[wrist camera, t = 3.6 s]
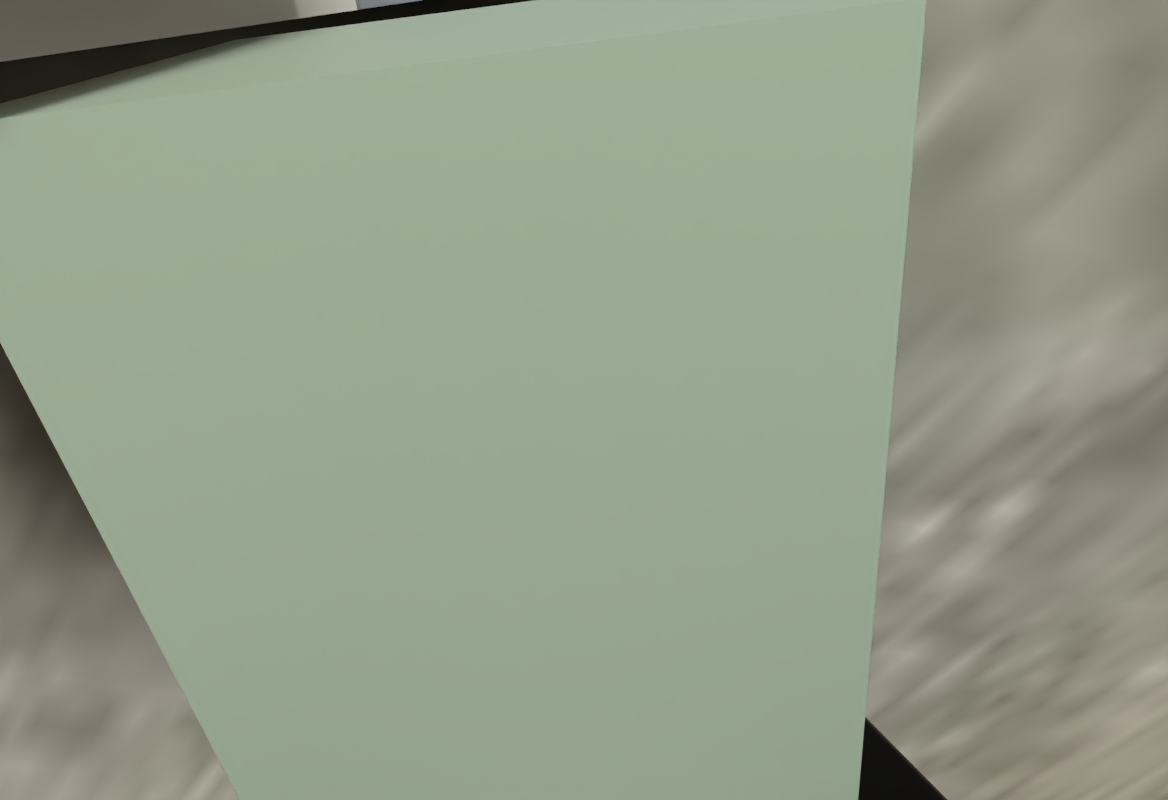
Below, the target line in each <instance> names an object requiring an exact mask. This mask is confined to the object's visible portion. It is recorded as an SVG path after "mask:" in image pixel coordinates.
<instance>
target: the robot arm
mask: <svg viewBox="0 0 1168 800" xmlns="http://www.w3.org/2000/svg"><path fill="white" fill-rule="evenodd" d="M858 800H947V799H946V798H945V797H944V796H943V795H942V794H941V793H940V792H939V791H938V790H937V789H936V788H935V787H934V786H933V785H932V784H931V783H930V782H929V781H928V780H927V779H926V778H925V777H924V776H923V775H922V774H921V773H920V772H919V771H918V770H917V769H916V768H915V767H914V766H913V765H912V764H911V763H910V762H909V761H908V760H907V759H906V758H905V757H904V756H903V755H902V754H901V753H900V752H899V751H898V750H897V749H896V748H895V747H894V746H893V745H892V744H891V742H890V741H889V740H888V739H887V738H886V737H885V736H884V735H883V734H882V733H881V732H880V731H879V730H878V729H877V728H876V727H875V726H874V725H873V724H872V723H871V722H870V721H869V720H868V719H867V718H866V717H865V725H864V737H863V749H862V760H861V772H860V784H859V795H858Z"/></svg>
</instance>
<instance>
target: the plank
mask: <svg viewBox="0 0 1168 800" xmlns="http://www.w3.org/2000/svg"><path fill="white" fill-rule="evenodd" d="M926 1H927V0H533V1H526V2H518V3H511V4H503V5H495V6H488V7H480V8H473V9H465V10H457V11H450V12H442V13H435V14H427V15H420V16H412V17H404V18H397V19H389V20H382V21H374V22H366V23H359V24H351V25H344V26H336V27H329V28H321V29H313V30H306V31H298V32H291V33H283V34H275V35H268V36H260V37H253V38H245V39H237V40H233V41H229V42H225V43H222V44H218V45H214V46H211V47H207V48H203V49H200V50H196V51H192V52H188V53H185V54H181V55H177V56H174V57H170V58H166V59H163V60H159V61H155V62H152V63H148V64H144V65H141V66H137V67H133V68H129V69H126V70H122V71H118V72H115V73H111V74H107V75H104V76H100V77H96V78H93V79H89V80H85V81H82V82H78V83H74V84H71V85H67V86H63V87H59V88H56V89H52V90H48V91H45V92H41V93H37V94H34V95H30V96H26V97H23V98H19V99H15V100H12V101H8V102H4V103H0V343H1V345H2V347H3V349H4V351H5V353H6V355H7V357H8V359H9V361H10V362H11V364H12V366H13V368H14V370H15V372H16V374H17V376H18V378H19V380H20V382H21V383H22V385H23V387H24V389H25V391H26V393H27V395H28V397H29V399H30V401H31V403H32V404H33V406H34V408H35V410H36V412H37V414H38V416H39V418H40V420H41V422H42V424H43V425H44V427H45V429H46V431H47V433H48V435H49V437H50V439H51V441H52V443H53V444H54V446H55V448H56V450H57V452H58V454H59V456H60V458H61V460H62V462H63V464H64V465H65V467H66V469H67V471H68V473H69V475H70V477H71V479H72V481H73V483H74V485H75V486H76V488H77V490H78V492H79V494H80V496H81V498H82V500H83V502H84V504H85V506H86V507H87V509H88V511H89V513H90V515H91V517H92V519H93V521H94V523H95V525H96V527H97V528H98V530H99V532H100V534H101V536H102V538H103V540H104V542H105V544H106V546H107V548H108V549H109V551H110V553H111V555H112V557H113V559H114V561H115V563H116V565H117V567H118V569H119V570H120V572H121V574H122V576H123V578H124V580H125V582H126V584H127V586H128V588H129V590H130V591H131V593H132V595H133V597H134V599H135V601H136V603H137V605H138V607H139V609H140V611H141V612H142V614H143V616H144V618H145V620H146V622H147V624H148V626H149V628H150V630H151V631H152V633H153V635H154V637H155V639H156V641H157V643H158V645H159V647H160V649H161V651H162V652H163V654H164V656H165V658H166V660H167V662H168V664H169V666H170V668H171V670H172V672H173V673H174V675H175V677H176V679H177V681H178V683H179V685H180V687H181V689H182V691H183V693H184V694H185V696H186V698H187V700H188V702H189V704H190V706H191V708H192V710H193V712H194V714H195V715H196V717H197V719H198V721H199V723H200V725H201V727H202V729H203V731H204V733H205V735H206V736H207V738H208V740H209V742H210V744H211V746H212V748H213V750H214V752H215V754H216V756H217V757H218V759H219V761H220V763H221V765H222V767H223V769H224V771H225V773H226V775H227V777H228V778H229V780H230V782H231V784H232V786H233V788H234V790H235V792H236V794H237V796H238V797H239V799H240V800H858V795H859V784H860V772H861V760H862V749H863V737H864V725H865V714H866V702H867V690H868V679H869V667H870V655H871V644H872V632H873V620H874V608H875V597H876V585H877V573H878V562H879V550H880V538H881V527H882V515H883V503H884V492H885V480H886V468H887V457H888V445H889V433H890V422H891V410H892V398H893V387H894V375H895V363H896V352H897V340H898V328H899V316H900V305H901V293H902V281H903V270H904V258H905V246H906V235H907V223H908V211H909V200H910V188H911V176H912V165H913V153H914V141H915V130H916V118H917V106H918V95H919V83H920V71H921V59H922V48H923V36H924V24H925V13H926Z"/></svg>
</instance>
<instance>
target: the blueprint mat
mask: <svg viewBox="0 0 1168 800" xmlns="http://www.w3.org/2000/svg"><path fill="white" fill-rule="evenodd" d="M414 1H421V0H0V62H3V61H10V60H17V59H24V58H31V57H38V56H45V55H51V54H58V53H65V52H72V51H79V50H86V49H93V48H100V47H106V46H113V45H120V44H127V43H134V42H141V41H148V40H155V39H162V38H168V37H175V36H182V35H189V34H196V33H203V32H210V31H217V30H223V29H230V28H237V27H244V26H251V25H258V24H265V23H272V22H279V21H285V20H292V19H299V18H306V17H313V16H320V15H327V14H334V13H340V12H347V11H354V10H359V9H366V8H373V7H380V6H387V5H393V4H400V3H407V2H414Z"/></svg>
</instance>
